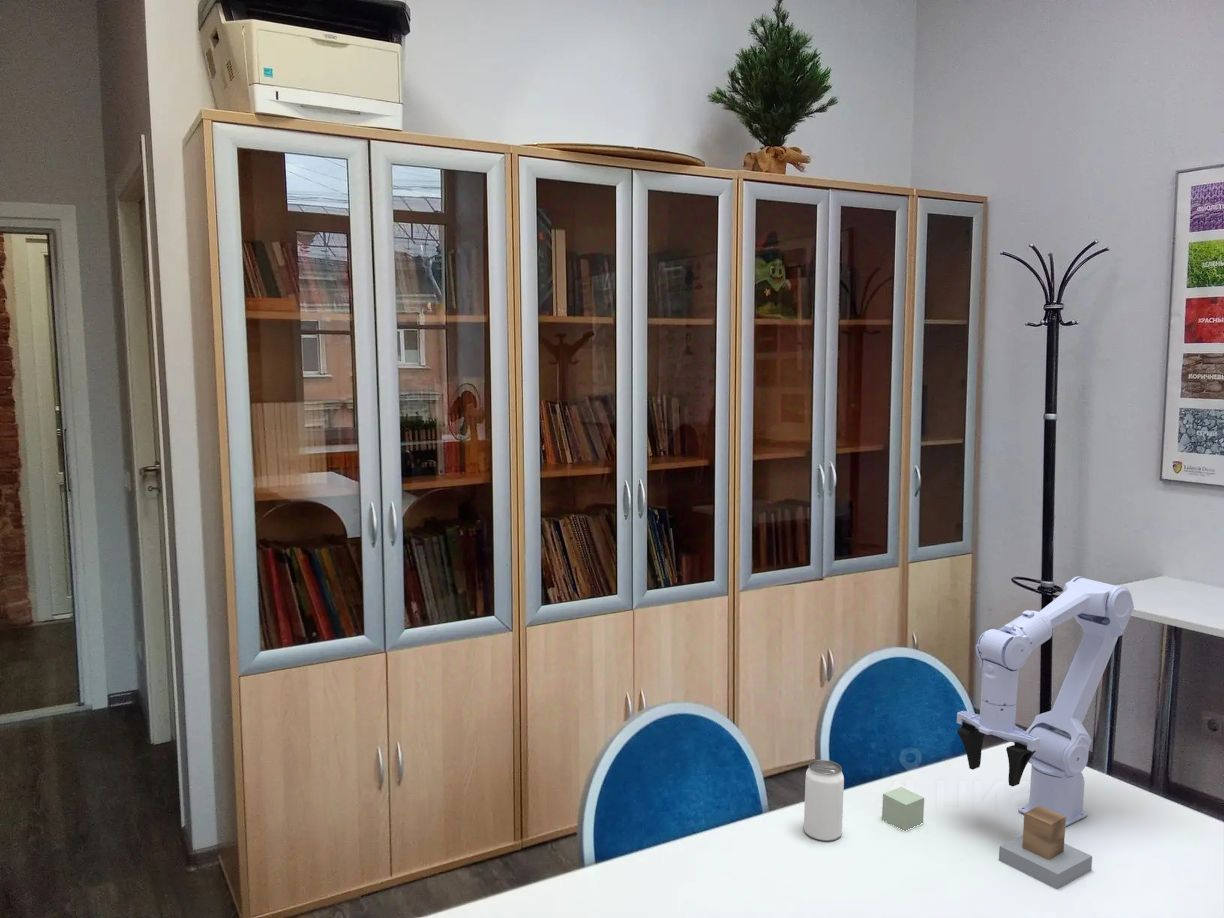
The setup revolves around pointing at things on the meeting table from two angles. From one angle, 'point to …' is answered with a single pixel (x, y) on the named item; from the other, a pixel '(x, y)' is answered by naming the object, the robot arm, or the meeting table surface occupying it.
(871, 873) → the meeting table surface
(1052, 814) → the walnut block
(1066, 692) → the robot arm
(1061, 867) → the grey block
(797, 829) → the meeting table surface
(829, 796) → the can
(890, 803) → the green cube
